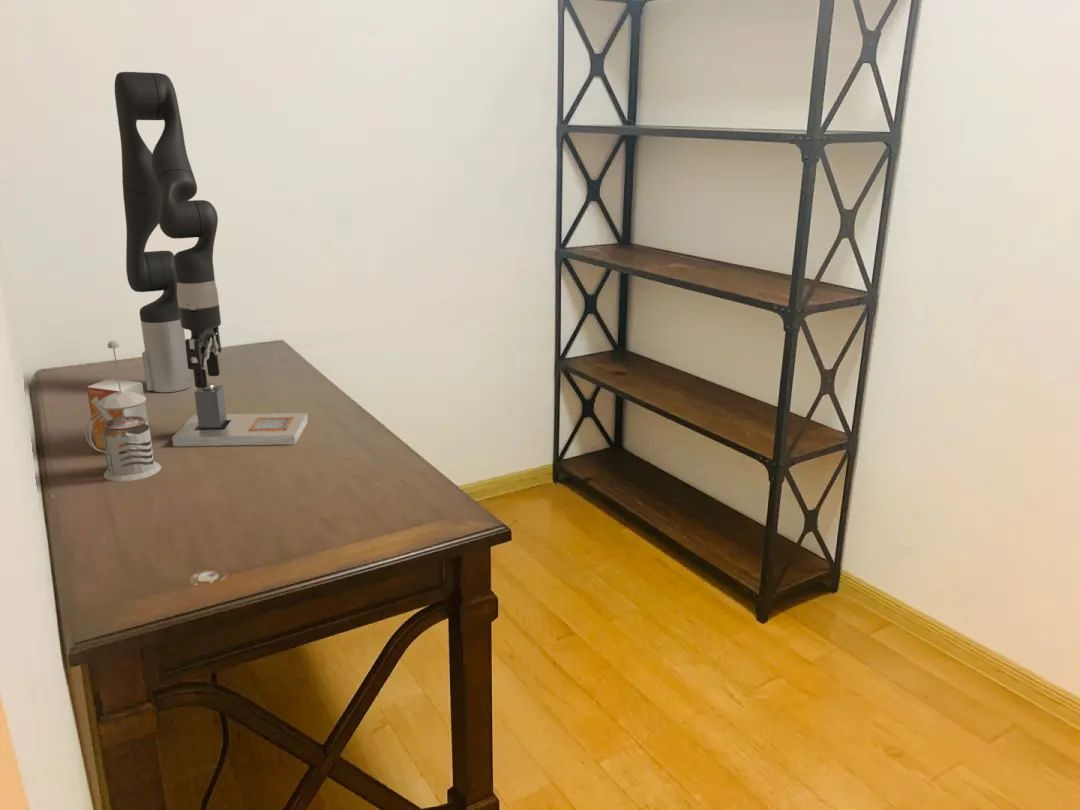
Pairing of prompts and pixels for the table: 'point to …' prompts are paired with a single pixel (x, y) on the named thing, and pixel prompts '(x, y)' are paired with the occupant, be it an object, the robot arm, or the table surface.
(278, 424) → the rail plate
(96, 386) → the small box
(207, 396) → the block with round knob
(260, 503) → the table surface
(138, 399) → the french press
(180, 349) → the robot arm
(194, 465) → the table surface
